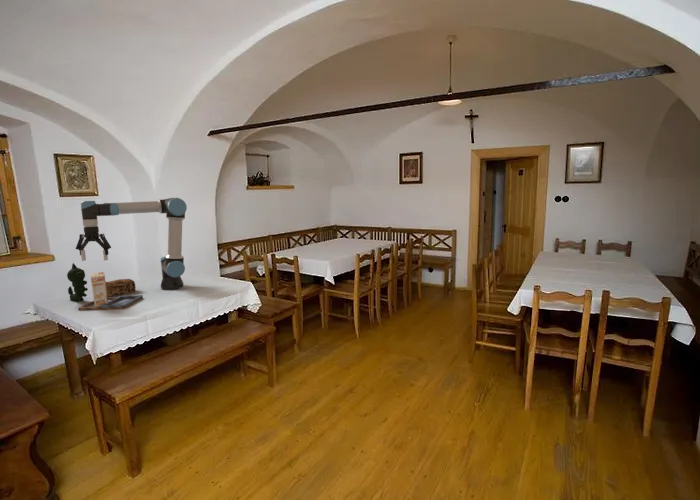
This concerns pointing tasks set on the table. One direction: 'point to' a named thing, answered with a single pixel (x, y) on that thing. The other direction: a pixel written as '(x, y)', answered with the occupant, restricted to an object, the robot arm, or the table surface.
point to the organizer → (114, 303)
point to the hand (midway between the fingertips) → (95, 260)
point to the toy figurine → (77, 283)
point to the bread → (120, 287)
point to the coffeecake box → (99, 289)
